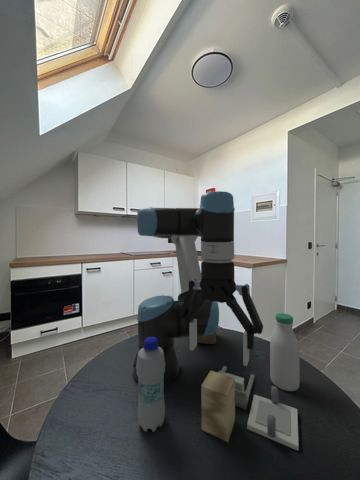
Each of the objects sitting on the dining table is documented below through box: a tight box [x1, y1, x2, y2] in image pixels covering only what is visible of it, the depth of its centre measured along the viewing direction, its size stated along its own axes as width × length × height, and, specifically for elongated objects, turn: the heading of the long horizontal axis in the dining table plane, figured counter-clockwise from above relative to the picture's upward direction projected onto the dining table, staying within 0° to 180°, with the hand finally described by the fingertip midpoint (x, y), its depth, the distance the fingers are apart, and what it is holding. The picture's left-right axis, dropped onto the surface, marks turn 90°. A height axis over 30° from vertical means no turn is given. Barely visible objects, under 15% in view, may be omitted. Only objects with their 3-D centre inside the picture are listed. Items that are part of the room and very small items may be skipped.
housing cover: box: [217, 370, 245, 391], centre depth 56 cm, size 7×3×5 cm, turn 61°
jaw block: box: [200, 370, 236, 443], centre depth 47 cm, size 6×6×10 cm
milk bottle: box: [269, 312, 301, 392], centre depth 60 cm, size 8×8×20 cm
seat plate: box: [246, 385, 299, 452], centre depth 48 cm, size 10×11×4 cm
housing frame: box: [220, 365, 255, 411], centre depth 59 cm, size 10×13×4 cm
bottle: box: [136, 337, 166, 433], centre depth 47 cm, size 7×7×20 cm
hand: (218, 354), depth 47 cm, fingers open, 12 cm apart
